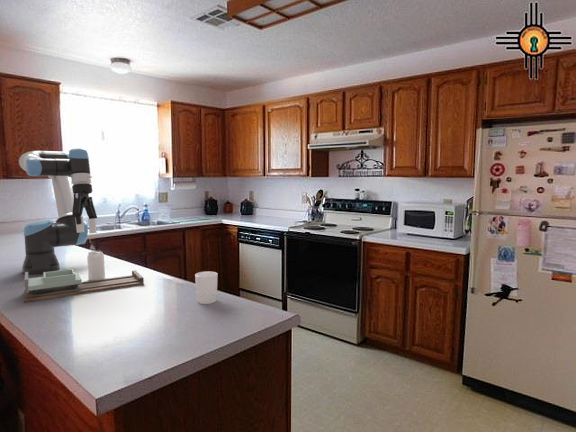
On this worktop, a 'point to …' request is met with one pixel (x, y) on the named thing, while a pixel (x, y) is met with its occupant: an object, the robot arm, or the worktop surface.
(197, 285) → the white cup
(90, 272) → the can
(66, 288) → the track
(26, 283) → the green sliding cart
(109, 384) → the worktop surface
